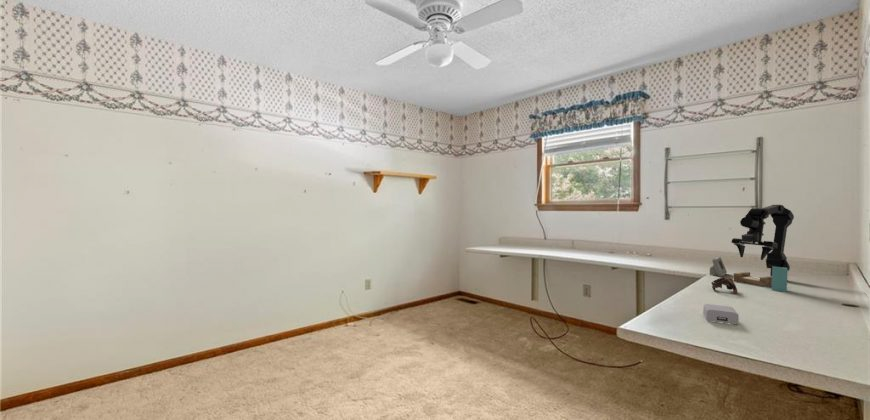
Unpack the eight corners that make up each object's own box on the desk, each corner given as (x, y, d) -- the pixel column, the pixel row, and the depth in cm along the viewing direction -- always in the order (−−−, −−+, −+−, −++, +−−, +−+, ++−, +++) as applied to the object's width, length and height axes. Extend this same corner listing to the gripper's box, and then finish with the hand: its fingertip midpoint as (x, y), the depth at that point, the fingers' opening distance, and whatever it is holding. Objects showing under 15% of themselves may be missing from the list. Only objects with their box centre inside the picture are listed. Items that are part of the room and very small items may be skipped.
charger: (729, 315, 144) (738, 326, 131) (701, 311, 148) (706, 321, 135) (730, 303, 144) (738, 313, 131) (701, 299, 148) (706, 309, 135)
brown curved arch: (736, 296, 173) (725, 280, 175) (715, 301, 181) (705, 285, 183) (744, 287, 180) (734, 272, 182) (724, 291, 187) (714, 277, 189)
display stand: (745, 279, 210) (746, 271, 210) (776, 284, 197) (776, 276, 197) (733, 281, 205) (733, 273, 205) (764, 286, 192) (764, 278, 192)
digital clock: (722, 277, 215) (722, 259, 215) (704, 274, 223) (704, 257, 223) (732, 274, 224) (733, 257, 224) (715, 272, 232) (715, 255, 231)
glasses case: (771, 288, 189) (772, 266, 189) (786, 290, 185) (787, 267, 185) (771, 290, 185) (772, 267, 185) (786, 292, 181) (787, 269, 181)
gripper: (728, 226, 205) (723, 253, 205) (769, 229, 188) (764, 259, 187) (739, 230, 210) (734, 257, 209) (780, 233, 193) (775, 262, 192)
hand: (751, 258), depth 199 cm, fingers open, 9 cm apart
